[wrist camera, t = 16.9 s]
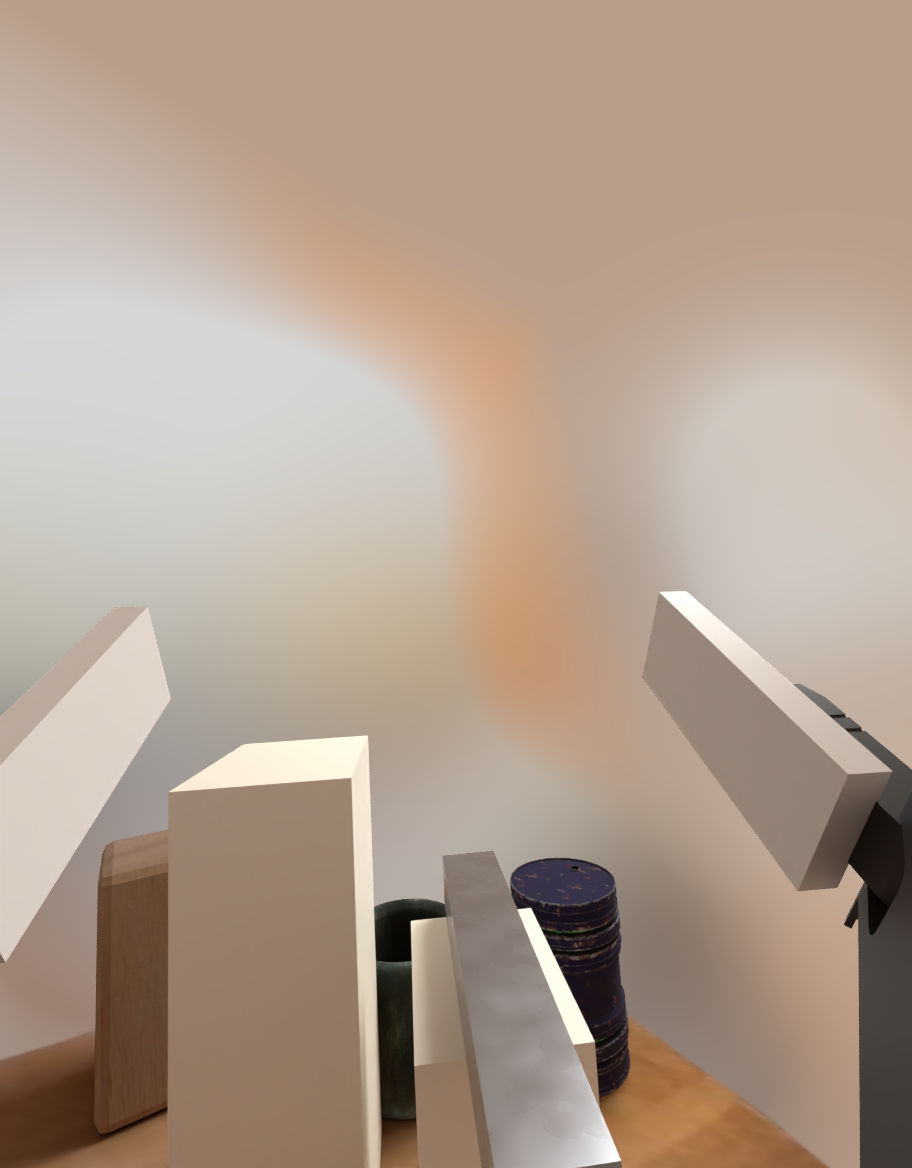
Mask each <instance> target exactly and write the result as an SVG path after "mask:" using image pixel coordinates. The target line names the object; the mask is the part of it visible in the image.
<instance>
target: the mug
mask: <svg viewBox="0 0 912 1168" xmlns="http://www.w3.org/2000/svg"><path fill="white" fill-rule="evenodd" d="M442 917H446V913H445V904H443V903H440V902H437V901H432V900H427V899H402V900H395V901H390V902H386V903H383V904H380V905H377V906H375V907H374V924H375V953H376V981H377V1010H378V1038H379V1067H380V1096H381V1116H383V1117H387V1118H391V1119H400V1120H405V1119H414V1118H416V1095H415V1071H414V1032H413V990H412V949H411V921H414V920H423V919H433V918H442Z"/></svg>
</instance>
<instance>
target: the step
mask: <svg viewBox="0 0 912 1168" xmlns="http://www.w3.org/2000/svg"><path fill="white" fill-rule="evenodd" d="M517 910H518V912H519V915H520V917H521V919H522V922H523V924H524V927H525V929H526V932H527V934H528V936H529V939H530V941H531V944H532V946H533V948H534V951H535V953H536V956H537V958H538V961H539V963H540V965H541V968H542V970H543V973H544V975H545V978H546V980H547V982H548V985H549V987H550V990H551V992H552V995H553V997H554V999H555V1002H556V1004H557V1007H558V1009H559V1012H560V1014H561V1016H562V1019H563V1021H564V1024H565V1026H566V1028H567V1031H568V1033H569V1036H570V1038H571V1041H572V1043H573V1045H574V1048H575V1050H576V1053H577V1055H578V1058H579V1060H580V1062H581V1065H582V1067H583V1070H584V1072H585V1075H586V1077H587V1079H588V1082H589V1084H590V1087H591V1089H592V1092H593V1094H594V1096H595V1099H596V1101H597V1104H598V1106H599V1108H600V1104H599V1090H598V1077H597V1064H596V1050H595V1041H594V1039H593V1037H592V1035H591V1033H590V1030H589V1028H588V1026H587V1024H586V1022H585V1020H584V1018H583V1016H582V1014H581V1012H580V1010H579V1007H578V1005H577V1003H576V1001H575V999H574V997H573V995H572V993H571V991H570V989H569V987H568V984H567V982H566V980H565V978H564V976H563V974H562V972H561V970H560V968H559V966H558V964H557V961H556V959H555V957H554V955H553V953H552V951H551V949H550V947H549V945H548V943H547V940H546V938H545V936H544V934H543V932H542V930H541V928H540V926H539V924H538V922H537V920H536V917H535V915H534V913H533V911H532V909H531V908H526V909H517ZM411 949H412V990H413V1032H414V1071H415V1095H416V1119H417V1143H418V1168H482V1167H481V1160H480V1153H479V1146H478V1139H477V1132H476V1125H475V1118H474V1111H473V1103H472V1096H471V1089H470V1082H469V1075H468V1068H467V1061H466V1054H465V1047H464V1040H463V1033H462V1026H461V1019H460V1012H459V1005H458V997H457V990H456V983H455V976H454V969H453V962H452V955H451V948H450V941H449V934H448V927H447V920H446V917H442V918H433V919H423V920H414V921H411Z"/></svg>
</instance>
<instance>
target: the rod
mask: <svg viewBox="0 0 912 1168" xmlns="http://www.w3.org/2000/svg"><path fill="white" fill-rule="evenodd" d="M443 875H444V894H445V895H444V897H445V913H446V920H447V927H448V934H449V941H450V948H451V955H452V962H453V969H454V976H455V983H456V990H457V997H458V1005H459V1012H460V1019H461V1026H462V1033H463V1040H464V1047H465V1054H466V1061H467V1068H468V1075H469V1082H470V1089H471V1096H472V1103H473V1111H474V1118H475V1125H476V1132H477V1139H478V1146H479V1153H480V1160H481V1167H482V1168H622V1166H621V1159H620V1157H619V1155H618V1152H617V1150H616V1147H615V1145H614V1142H613V1140H612V1138H611V1135H610V1133H609V1130H608V1128H607V1125H606V1123H605V1121H604V1118H603V1116H602V1113H601V1111H600V1108H599V1106H598V1104H597V1101H596V1099H595V1096H594V1094H593V1092H592V1089H591V1087H590V1084H589V1082H588V1079H587V1077H586V1075H585V1072H584V1070H583V1067H582V1065H581V1062H580V1060H579V1058H578V1055H577V1053H576V1050H575V1048H574V1045H573V1043H572V1041H571V1038H570V1036H569V1033H568V1031H567V1028H566V1026H565V1024H564V1021H563V1019H562V1016H561V1014H560V1012H559V1009H558V1007H557V1004H556V1002H555V999H554V997H553V995H552V992H551V990H550V987H549V985H548V982H547V980H546V978H545V975H544V973H543V970H542V968H541V965H540V963H539V961H538V958H537V956H536V953H535V951H534V948H533V946H532V944H531V941H530V939H529V936H528V934H527V932H526V929H525V927H524V924H523V922H522V919H521V917H520V915H519V912H518V910H517V907H516V905H515V902H514V900H513V898H512V895H511V893H510V891H509V888H508V885H507V883H506V881H505V878H504V876H503V873H502V871H501V868H500V866H499V864H498V861H497V859H496V856H495V854H494V852H493V851H489V852H479V853H468V854H457V855H446V856H443Z"/></svg>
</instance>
